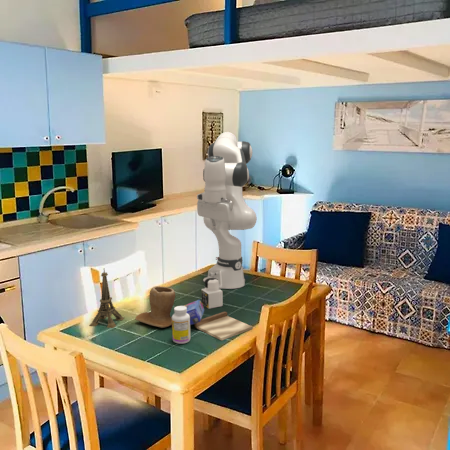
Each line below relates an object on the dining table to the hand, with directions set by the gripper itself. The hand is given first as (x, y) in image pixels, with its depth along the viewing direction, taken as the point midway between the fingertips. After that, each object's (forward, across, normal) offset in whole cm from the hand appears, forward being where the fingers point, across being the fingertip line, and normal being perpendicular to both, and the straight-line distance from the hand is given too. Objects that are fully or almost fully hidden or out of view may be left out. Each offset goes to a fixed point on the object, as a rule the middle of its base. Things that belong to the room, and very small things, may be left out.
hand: (215, 229), depth 207 cm
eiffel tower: (+36, +21, +41) cm, 58 cm away
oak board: (+36, -15, +10) cm, 40 cm away
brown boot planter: (+36, +6, +26) cm, 45 cm away
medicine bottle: (+36, +7, -3) cm, 37 cm away
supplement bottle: (+36, -14, +29) cm, 48 cm away
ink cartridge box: (+31, +1, +13) cm, 34 cm away
